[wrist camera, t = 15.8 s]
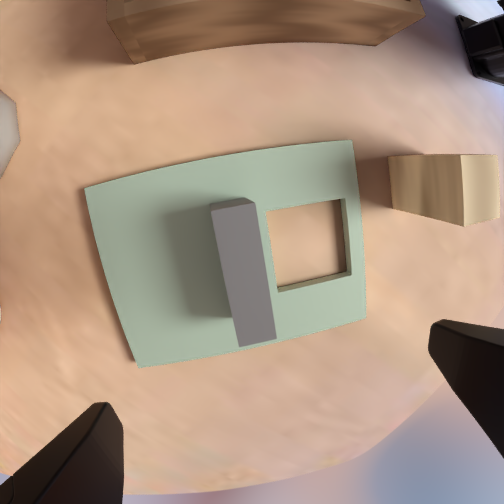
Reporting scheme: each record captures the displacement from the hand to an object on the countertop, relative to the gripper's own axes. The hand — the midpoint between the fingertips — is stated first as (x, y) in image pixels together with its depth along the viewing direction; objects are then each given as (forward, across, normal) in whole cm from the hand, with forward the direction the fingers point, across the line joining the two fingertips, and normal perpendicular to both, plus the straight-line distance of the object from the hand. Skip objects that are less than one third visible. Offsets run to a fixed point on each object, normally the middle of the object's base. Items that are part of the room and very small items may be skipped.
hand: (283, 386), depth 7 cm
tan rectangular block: (+12, -13, -3) cm, 18 cm away
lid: (+12, 0, 0) cm, 12 cm away
